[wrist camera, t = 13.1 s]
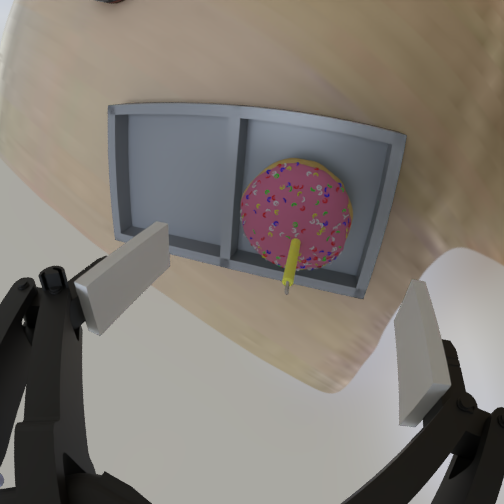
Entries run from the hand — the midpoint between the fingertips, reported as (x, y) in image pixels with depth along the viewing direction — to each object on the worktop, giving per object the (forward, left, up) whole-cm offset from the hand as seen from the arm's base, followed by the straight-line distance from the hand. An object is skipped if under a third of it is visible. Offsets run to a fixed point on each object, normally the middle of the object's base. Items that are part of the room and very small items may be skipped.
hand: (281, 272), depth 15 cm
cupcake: (+1, 0, -13) cm, 13 cm away
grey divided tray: (+7, 0, -14) cm, 15 cm away
